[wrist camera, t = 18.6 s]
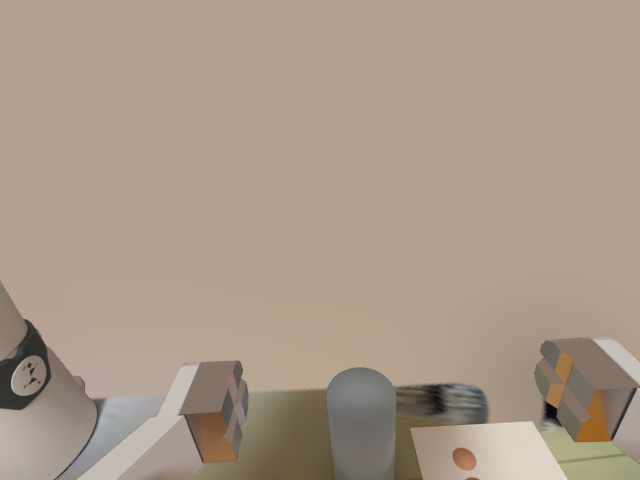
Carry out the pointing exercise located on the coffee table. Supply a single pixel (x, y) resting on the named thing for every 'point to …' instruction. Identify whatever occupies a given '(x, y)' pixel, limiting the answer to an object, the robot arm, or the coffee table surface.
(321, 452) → the coffee table surface
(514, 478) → the mat
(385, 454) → the pale blue cylinder
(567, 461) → the coffee table surface
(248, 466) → the coffee table surface
